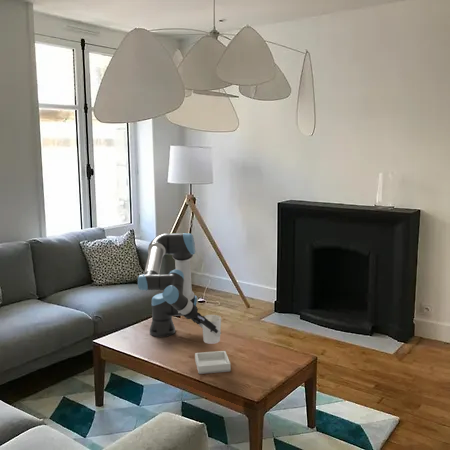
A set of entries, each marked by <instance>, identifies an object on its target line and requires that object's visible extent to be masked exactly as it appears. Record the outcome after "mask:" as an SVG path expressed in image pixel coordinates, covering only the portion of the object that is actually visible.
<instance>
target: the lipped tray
mask: <svg viewBox="0 0 450 450" xmlns="http://www.w3.org/2000/svg"><path fill="white" fill-rule="evenodd" d="M226 351H227V350H220V351H219V350H217V351H205V352H204V351H203V352H195V353H194V361H195V364H196V365H195V366H196V369H197V372H198V373H197V374H199V375H203V374H205V375H206V374H215V373H229V372H232V371H231V366H232V365H231V364H232V363H231V361H230V360H229V357H228V354H227V352H226Z"/></svg>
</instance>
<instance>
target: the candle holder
mask: <svg viewBox="0 0 450 450" xmlns="http://www.w3.org/2000/svg"><path fill="white" fill-rule="evenodd" d="M203 316H204V317H205V318H206V319H207V320H208V321H210V322H211V323H212V324H213V325H215V326H216V328H217V329H218V330H219V331H220V332H221V328H222V327H221V326H222V317H221V315H216V314H206V315H203ZM202 339H203V342H204V343H205V344H209V345H213V344H219V342H220V341H221V335H220V336H219V337H217V336H216V335H215V334H214V333H213V332H210V329H209V328H207V327H206V326H205V325H203V324H202Z"/></svg>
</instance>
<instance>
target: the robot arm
mask: <svg viewBox="0 0 450 450" xmlns="http://www.w3.org/2000/svg"><path fill="white" fill-rule="evenodd" d="M195 242H196V241H195V238H194V235H193V234H192V233H189V232H187V233H186V232H181V233H180V232H179V233H176V232H175V233H170V232H167V233H161V234H159V235H157V236H155V238H153V239H152V240H151V241H150V243H149V245H148V247H147V254H148V255H147V259H146V263H145V268H144V272H143V274H139V275H138V277H137V288H138V290H140V291H162V292H161V293H160V292H159V293H156V294H155V295H154V296H152V298H151V304H150V305H151V318H152V321H151V324H150V327H149V335H151V336H153V337H157V338H158V337H159V338H165V337H166V338H167V337H170V336H172V335H174V334H175V333H176V327H175V324H174V321H173V316H174V317H178V316H179V317H181V316H183V317H184V318H185V319H186V320H191V321H192V322H193V323H194V324H196V325H198V326H199V327H200V328H202V324H203V325H205V326H206V327H207V328H209V329H210V332H213V333H214V334H215V335H216V336H217V337H219V336H220V337H221V334H222V332H221V330H220V331H219V330H218V329H217V328H216V326H215V325H213V324H212V323H211V322H210V321H208V320H207V319H206V318H205V317H204V316H205V315H202V314H201V313H200V312H198V309H199V308H198V306H197V303H198V301H197V300H198V296H197V295H195V292H194V291H193V290H192V267H191V259H192V258H193V257H194V255H195V254H196V244H195ZM165 255H171V257H172V258H173V259H174V263H175V266H174V267H175V269H173V270H169V273H168V274H161V267H162V262H163V258H164V256H165ZM202 329H203V328H202Z"/></svg>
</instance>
